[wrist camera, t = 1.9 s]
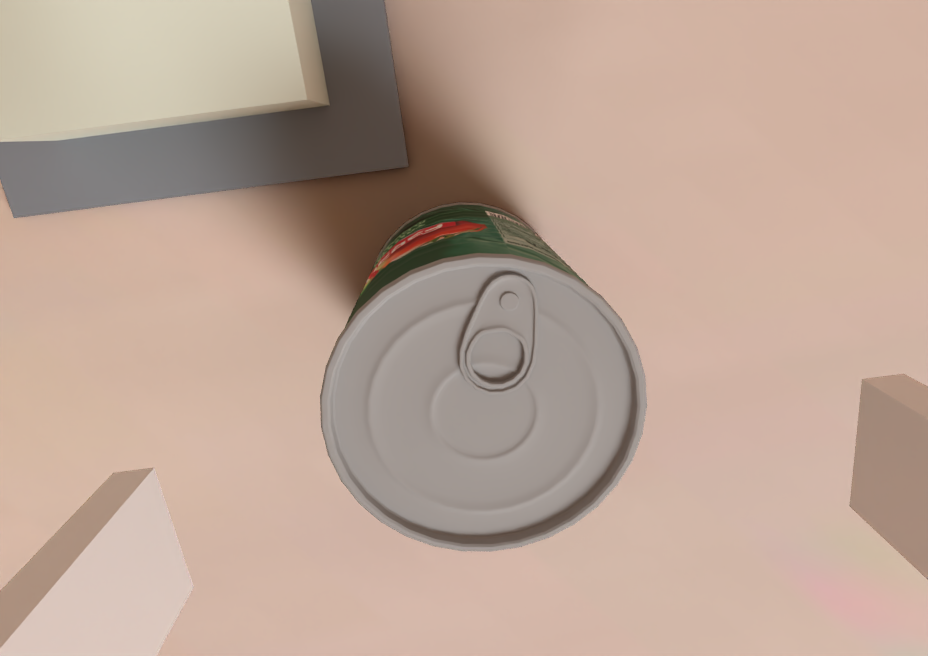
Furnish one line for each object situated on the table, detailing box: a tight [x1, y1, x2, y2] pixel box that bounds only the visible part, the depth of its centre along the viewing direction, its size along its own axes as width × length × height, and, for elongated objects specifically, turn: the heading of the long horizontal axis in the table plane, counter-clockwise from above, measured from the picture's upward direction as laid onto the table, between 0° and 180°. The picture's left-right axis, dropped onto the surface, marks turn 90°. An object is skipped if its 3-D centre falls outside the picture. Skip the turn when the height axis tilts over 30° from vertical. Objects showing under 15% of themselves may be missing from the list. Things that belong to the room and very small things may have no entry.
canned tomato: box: [320, 202, 647, 551], centre depth 20 cm, size 8×8×11 cm
